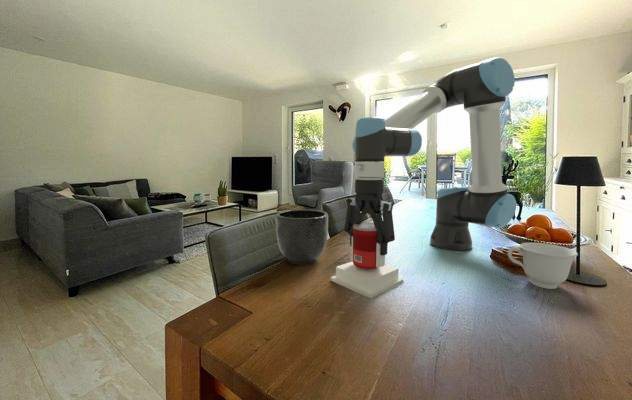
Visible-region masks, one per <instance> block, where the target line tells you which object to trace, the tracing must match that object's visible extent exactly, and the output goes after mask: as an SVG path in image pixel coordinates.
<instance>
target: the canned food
mask: <svg viewBox="0 0 632 400" xmlns="http://www.w3.org/2000/svg"><path fill="white" fill-rule="evenodd" d="M378 242H379V239H378V236H377V230H376V228H375V226H374V223H373V222H362V223H360V224H354V225H353V259H352V261H353V264H354V265H355V266H356V267H358V268H362V269H377V267H376V246H377V243H378ZM379 268H380V267H379Z"/></svg>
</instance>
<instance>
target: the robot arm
mask: <svg viewBox="0 0 632 400" xmlns="http://www.w3.org/2000/svg"><path fill="white" fill-rule="evenodd" d="M515 80H516V79H515V73H514V70H513V68H512V66H511V64H509V62H508V60H506V59H505V58H503V57H492V58H489V59H483V60H481V61H478V62H476V63H472V64H469V65H467V66H464V67H461V68H457V69H454V70H452V71H450V72H448V73H447V74H445V75H443V76H441V77H440V78H438V79H437V80H436V81H434V82H433V83H432V84H430V85H429V86H427V87H426V88H425V89H424V90H423V91H422V94H420V96H417V98H416V99H414V100H413V101H411V102H410V103H408V104H407V105H405V106H403V107H402V108H401V109H399V110H397V112H395V113H394V114H392V115H391V116H389V117H388V118H386V119H385V118H383V117H379V116H370V117H369V116H368V117H362V118H359V119H358V120H357V121H356V124H355V135H354V138H353V141H352V150H353V152H354V159H355V161H354V162H355V163H354V176H355V178H356V179H355V180H354V192H355V197H350V198H349V197H348V198H347V200H346V204H347V205H346V206H347V210H346V215H345V221H344V229H343V230H344V233H348V235H349V246H350V247H351V249H350V250H351V253H350V255H351V258H350V259H352V260H353V225H354V224H360V223H363V220H364V218H365V215H369V216H370V219H372V223H374V226H375V228H376V230H377V236H378V239H379V242H378V243H377V246H376V267H377V268H379V267H382V266H385V263H386V256H387V254H388V244H389V243H392V242H394V241H395V240H396V237H395V228H394V220H393V219H394V218H393V209H394V203H393V202H391V201H390V202H388V201H384V197H383V195H384V185H385V182H384V179H382V178H384V177H385V158H386V157H405V158H407V157H413V156H415V155H417V154H418V153H419V152H420V150H421V148H422V145H423V144H422V143H423V139H422V135H421V133H420V131H418V130H417V129H414V128H416V127H417V126H418V125H419V124H421V123H423V122H424V121H425V120H426V119H428V118H429V117H431V116H432V115H433V114H438V113H441V112H442V111H444V110H445V109H447V108H450V107H454V106H459V105H460V106H461V105H463V110H464V111H466V112H467V113H468V115H469V116H468V117H469V132H470V133H469V134H470V155H471V157H470V158H471V176H472V177H471V178H472V184H471V185H470V186H463V187H462V186H457V187H444V188H442V187H441V188H439V189H438V192H437V197H436V207H435V209H436V213H435V225H434V228H433V231H432V233H431V235H430V241H429V243H431V244H430V245H432V244H433V245H435V246H434V247H436V246H438V247H437V248H439V247H441V248H440V249H443V248H445V250H449V249H450V251H451V250H452V251H468V250H471V249H472V248H473V240H472V239H473V238H472V235H471V232H470V229H469V224H474V225H479V226H484V227H486V228H496V229H499V228H503V227H505V226H507V225H508V224H510V222H511V221H512V219H513V218H514V216H515V213H516V208H517V200H516V198H515V196H514V195H513V194H510V193H508V186H507V185H506V184H504V182H503V179H502V178H503V177H502V175H503V174H502V173H503V171H502V169H503V167H502V138H501V137H502V136H501V135H502V134H501V133H502V132H501V131H502V129H501V108H502V106H504V104H506V97H507V96H509V95H510V94H511V93H512V92H513V91H514V86H515ZM433 245H432V246H433Z"/></svg>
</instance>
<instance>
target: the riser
mask: <svg viewBox="0 0 632 400" xmlns="http://www.w3.org/2000/svg"><path fill="white" fill-rule="evenodd" d="M399 270H400V269H399V268H398V267H394V266H392V265H388V264H385V266H382V267H380V268H377V269H362V268H358V267H356V266H355V265H354V264H353V260H352V261H350V262H346V263H344V264H340V265H338V266H335V275H333V276H330V282H331V281H332V282H334V283H335V284H338V285H340V286H343V287H344V288H347V289H348V290H351V291H353V292H355V293H358V294H359V295H362V296H364V297H366V298H369V299H373V298H375V297H377V296H379V295H381V294H383V293H385V292H387V291H389V290H392V289H393V288H395V287H396V288H397V286H400V285H401V284H404V279H403V278H400V277H399Z"/></svg>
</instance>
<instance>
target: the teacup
mask: <svg viewBox="0 0 632 400" xmlns="http://www.w3.org/2000/svg"><path fill="white" fill-rule="evenodd" d="M514 251H515V252H516V251H517V253H518V256H522V262H521V261H519V260H517V259H516V258H514V257H513V255H512V253H514ZM507 256H508V257H507V258H508V259H509V260H510V261H511V262H512V263H514V264H517V265H519V266H521V268H522V269H523V270H524V274H525V275H526V276H527V277H528V278H530V284H532V285H533V286H535V287H538V288H541V289H548V290H553V289H557V288H558V285H559V284H562V283H564V282H565V281H566V280H567V279H568V277H569V276H570V275H569V274H570V271H571V268H572V263H573V261H574V260H575V257H577V256H579V254H578V252H577V251H575V250H574V249H572V248H569V247H565V246H562V245H557V244H550V243H544V242H522V243H520V244H519V246H511V247H509V248H508V251H507Z"/></svg>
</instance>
